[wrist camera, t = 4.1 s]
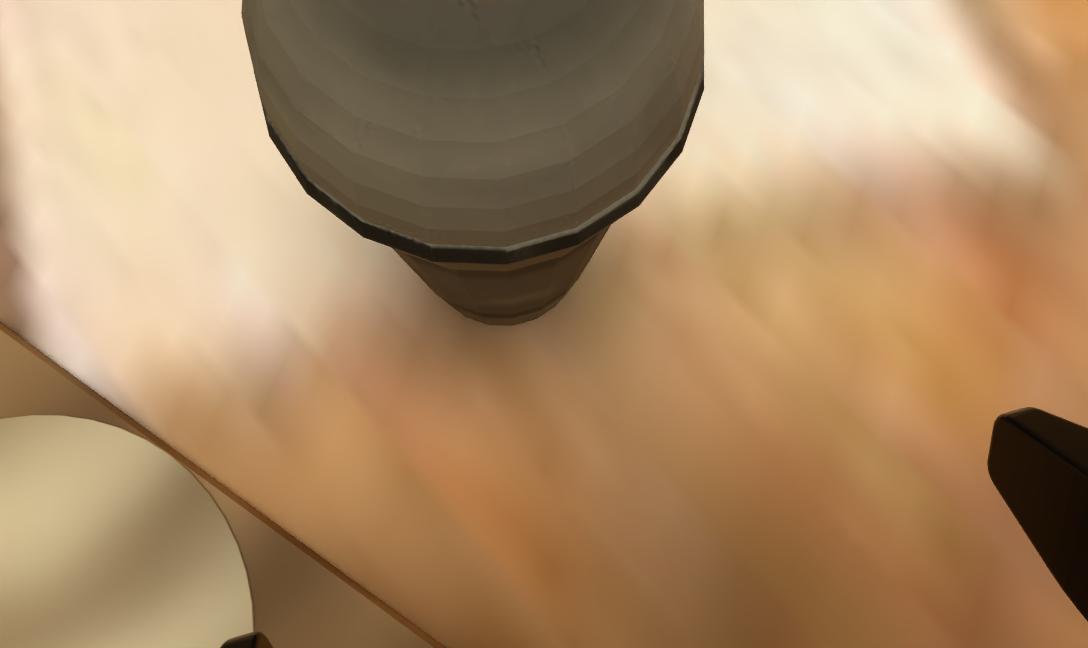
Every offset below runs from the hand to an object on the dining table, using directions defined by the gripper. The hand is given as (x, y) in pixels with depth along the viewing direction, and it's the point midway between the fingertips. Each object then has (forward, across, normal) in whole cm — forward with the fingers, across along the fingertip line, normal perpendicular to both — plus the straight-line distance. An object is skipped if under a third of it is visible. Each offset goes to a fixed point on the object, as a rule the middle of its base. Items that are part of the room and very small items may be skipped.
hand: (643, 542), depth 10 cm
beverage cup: (+15, 0, +4) cm, 16 cm away
